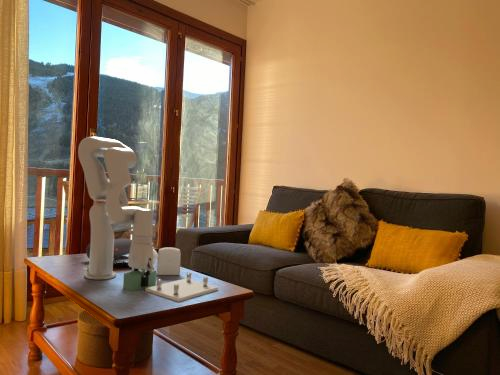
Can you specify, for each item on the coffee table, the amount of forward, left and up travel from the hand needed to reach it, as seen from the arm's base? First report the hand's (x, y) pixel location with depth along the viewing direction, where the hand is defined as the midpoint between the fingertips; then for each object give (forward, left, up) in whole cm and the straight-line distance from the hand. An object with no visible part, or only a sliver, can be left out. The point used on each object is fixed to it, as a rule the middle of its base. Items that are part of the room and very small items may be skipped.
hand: (139, 284), depth 159 cm
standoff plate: (+15, +9, -1) cm, 17 cm away
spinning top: (-17, +19, -1) cm, 26 cm away
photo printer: (-7, +22, -1) cm, 23 cm away
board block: (0, 0, -1) cm, 1 cm away
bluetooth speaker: (-49, +21, -1) cm, 53 cm away
